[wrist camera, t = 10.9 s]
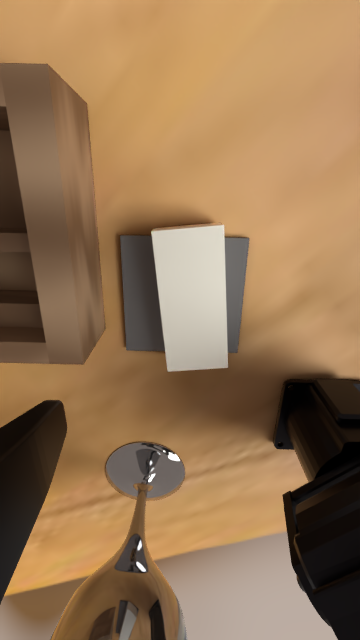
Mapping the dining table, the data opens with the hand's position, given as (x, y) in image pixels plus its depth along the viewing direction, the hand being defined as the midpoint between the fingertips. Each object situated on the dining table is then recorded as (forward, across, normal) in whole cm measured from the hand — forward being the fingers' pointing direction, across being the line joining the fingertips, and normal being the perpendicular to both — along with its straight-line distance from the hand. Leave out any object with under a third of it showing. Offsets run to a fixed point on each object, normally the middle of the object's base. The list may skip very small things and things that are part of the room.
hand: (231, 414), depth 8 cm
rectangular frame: (+13, +11, -3) cm, 17 cm away
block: (+13, +1, +1) cm, 13 cm away
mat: (+13, +1, +1) cm, 13 cm away
